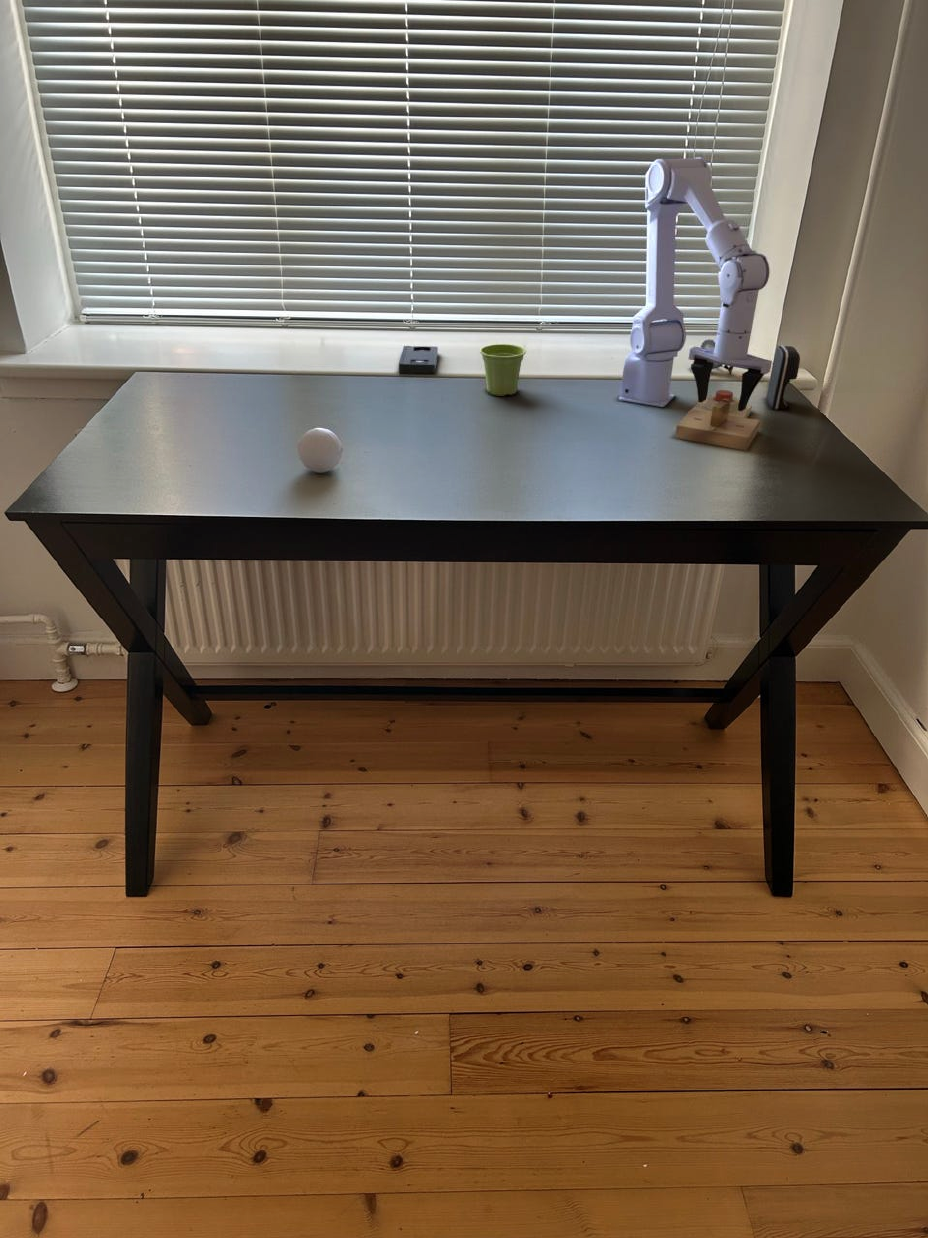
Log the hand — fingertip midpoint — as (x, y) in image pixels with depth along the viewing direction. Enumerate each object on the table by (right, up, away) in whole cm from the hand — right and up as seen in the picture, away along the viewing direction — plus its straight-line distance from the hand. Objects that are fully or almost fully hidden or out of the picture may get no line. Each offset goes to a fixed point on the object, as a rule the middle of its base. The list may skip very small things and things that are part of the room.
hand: (721, 405), depth 161 cm
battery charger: (+17, +4, +18) cm, 25 cm away
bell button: (+4, +4, +11) cm, 13 cm away
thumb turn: (0, -3, +2) cm, 3 cm away
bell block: (+4, +1, +13) cm, 13 cm away
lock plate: (0, -5, +3) cm, 6 cm away
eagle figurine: (+9, +16, +36) cm, 41 cm away
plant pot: (-39, +8, +24) cm, 47 cm away
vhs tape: (-57, +19, +40) cm, 72 cm away
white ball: (-71, -13, -11) cm, 73 cm away
